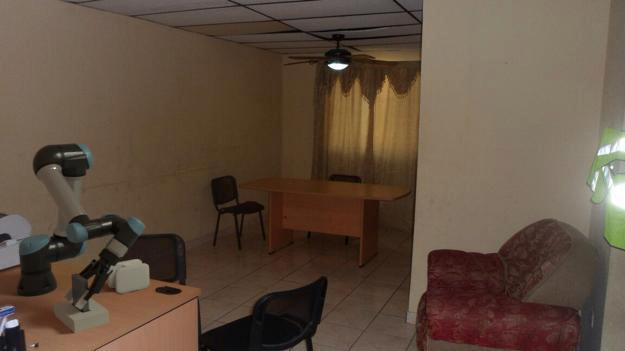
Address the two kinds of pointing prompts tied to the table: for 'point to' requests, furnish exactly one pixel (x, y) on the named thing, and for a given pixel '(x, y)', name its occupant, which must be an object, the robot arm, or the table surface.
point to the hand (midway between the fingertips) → (72, 303)
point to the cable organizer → (129, 276)
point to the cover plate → (79, 290)
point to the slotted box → (81, 315)
